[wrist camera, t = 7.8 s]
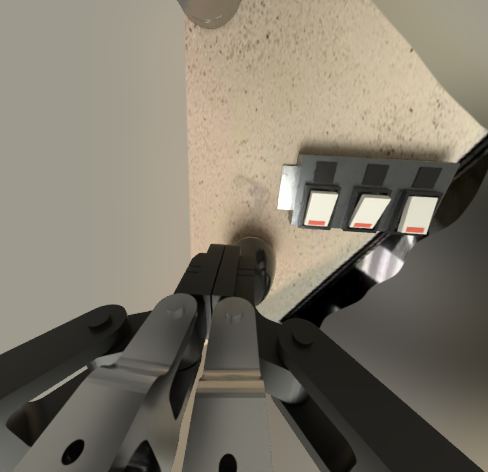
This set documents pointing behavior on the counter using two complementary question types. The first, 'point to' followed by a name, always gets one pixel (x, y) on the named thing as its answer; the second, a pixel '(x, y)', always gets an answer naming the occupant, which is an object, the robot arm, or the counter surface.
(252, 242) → the pump dispenser
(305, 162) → the rocker switch box
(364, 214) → the middle rocker
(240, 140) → the counter surface
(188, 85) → the counter surface
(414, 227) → the rocker
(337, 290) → the counter surface
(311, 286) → the counter surface
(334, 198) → the rocker
